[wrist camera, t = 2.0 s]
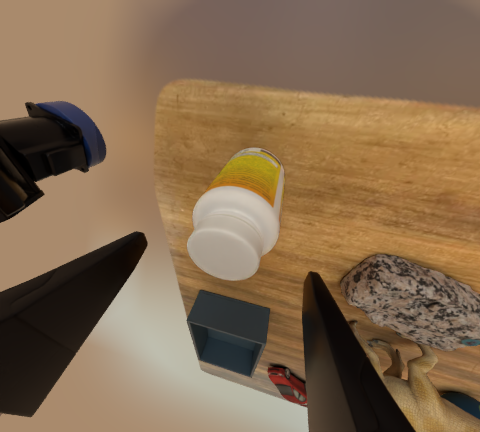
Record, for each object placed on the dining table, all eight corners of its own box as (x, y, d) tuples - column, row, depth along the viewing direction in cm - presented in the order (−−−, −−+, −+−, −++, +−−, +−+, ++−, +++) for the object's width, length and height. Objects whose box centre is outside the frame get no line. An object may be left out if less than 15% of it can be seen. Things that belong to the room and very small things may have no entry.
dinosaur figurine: (304, 305, 28) (309, 436, 18) (528, 351, 22) (724, 583, 12) (297, 326, 33) (298, 440, 23) (481, 369, 27) (595, 548, 17)
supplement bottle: (218, 156, 17) (150, 224, 9) (276, 136, 15) (253, 204, 7) (240, 205, 20) (202, 289, 12) (291, 194, 17) (287, 290, 10)
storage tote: (200, 289, 33) (186, 320, 29) (270, 308, 31) (266, 344, 27) (206, 334, 47) (198, 359, 43) (255, 349, 45) (251, 377, 41)
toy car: (295, 384, 54) (295, 407, 50) (267, 363, 49) (264, 387, 45) (313, 386, 51) (314, 411, 47) (285, 363, 46) (284, 390, 42)
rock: (494, 288, 18) (541, 337, 15) (418, 319, 24) (439, 360, 20) (376, 243, 18) (395, 281, 15) (328, 284, 24) (333, 319, 21)
